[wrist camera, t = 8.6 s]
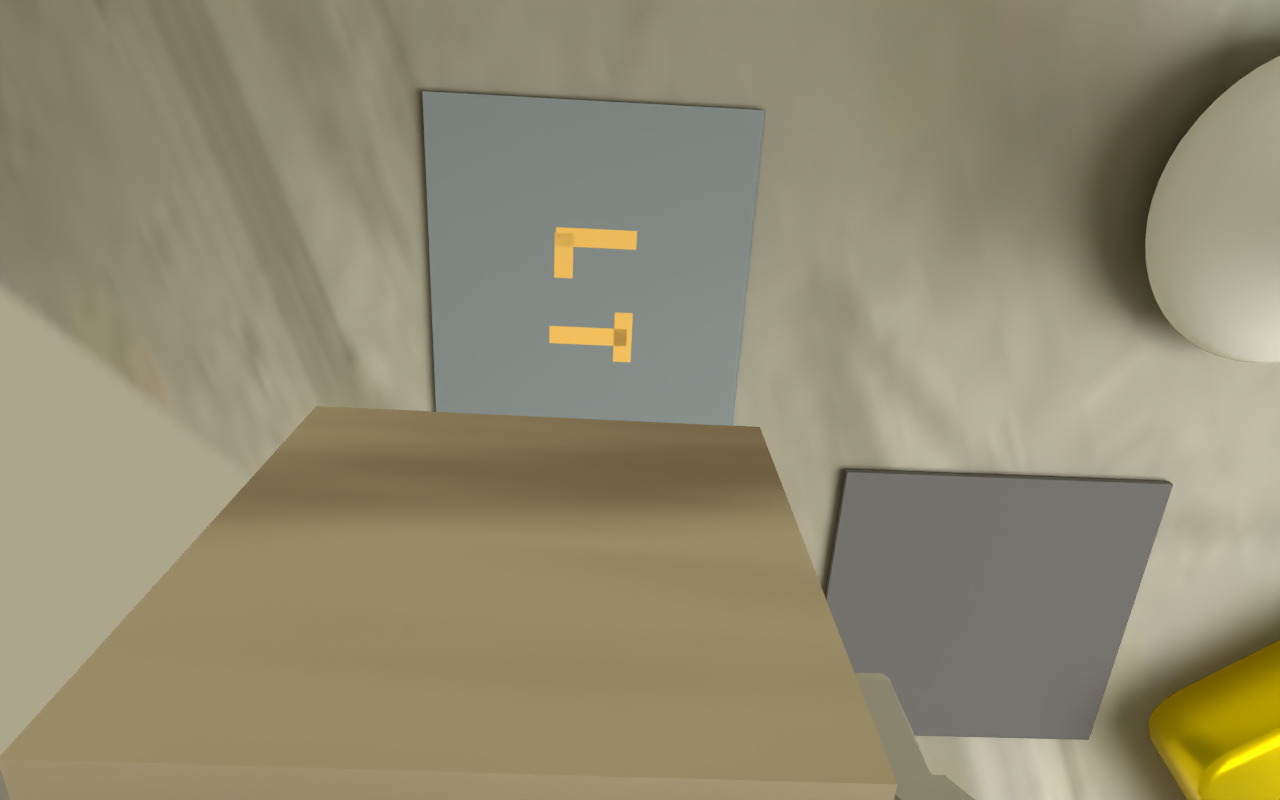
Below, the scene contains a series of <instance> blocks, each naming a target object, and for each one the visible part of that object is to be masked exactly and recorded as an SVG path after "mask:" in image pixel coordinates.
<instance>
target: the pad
mask: <svg viewBox="0 0 1280 800" xmlns="http://www.w3.org/2000/svg"><path fill="white" fill-rule="evenodd" d="M1172 486H1173V484H1172V483H1170V482H1169V481H1150V480H1124V479H1097V478H1071V477H1045V476H1018V475H992V474H965V473H939V472H913V471H886V470H860V469H846V470H845V476H844V482H843V489H842V495H841V501H840V507H839V513H838V519H837V525H836V532H835V538H834V544H833V550H832V556H831V562H830V568H829V575H828V581H827V587H826V593H825V598H826V601H827V603H828V606H829V608H830V611H831V613H832V616H833V619H834V621H835V624H836V626H837V629H838V632H839V634H840V637H841V639H842V642H843V645H844V647H845V650H846V652H847V655H848V658H849V660H850V663H851V665H852V668H853V671H854V673H883V674H884V675H885V676H887V677H888V678H889V680H890V682H891V684H892V686H893V689H894V691H895V693H896V695H897V698H898V700H899V702H900V704H901V706H902V709H903V711H904V713H905V715H906V718H907V720H908V722H909V724H910V726H911V729H912V731H913V733H914V735H917V736H957V737H998V738H1039V739H1079V740H1089V737H1090V734H1091V731H1092V728H1093V725H1094V722H1095V719H1096V716H1097V713H1098V710H1099V707H1100V704H1101V701H1102V698H1103V695H1104V692H1105V689H1106V686H1107V682H1108V679H1109V676H1110V673H1111V670H1112V667H1113V664H1114V661H1115V658H1116V655H1117V652H1118V649H1119V646H1120V643H1121V640H1122V637H1123V634H1124V631H1125V628H1126V625H1127V622H1128V619H1129V616H1130V613H1131V610H1132V607H1133V604H1134V601H1135V598H1136V595H1137V592H1138V589H1139V586H1140V583H1141V580H1142V577H1143V574H1144V571H1145V568H1146V565H1147V562H1148V559H1149V555H1150V552H1151V549H1152V546H1153V543H1154V540H1155V537H1156V534H1157V531H1158V528H1159V525H1160V522H1161V519H1162V516H1163V513H1164V510H1165V507H1166V504H1167V501H1168V498H1169V495H1170V492H1171V489H1172Z"/></svg>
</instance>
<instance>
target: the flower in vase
mask: <svg viewBox="0 0 1280 800" xmlns="http://www.w3.org/2000/svg"><path fill="white" fill-rule="evenodd" d="M1145 249H1146V266H1147V272H1148V277H1149V282H1150V285H1151V288H1152V291H1153V294H1154V297H1155V299H1156V301H1157V303H1158V305H1159V307H1160V309H1161V311H1162V312H1163V314H1164V315H1165V317H1166V318H1167V319H1168V321H1169V322H1170V323H1171V325H1172V326H1173V327H1174V328H1175V329H1176V330H1177V331H1178V332H1179V333H1180V334H1181V335H1182V336H1184V337H1185V338H1186V339H1187V340H1189V341H1190V342H1192V343H1193V344H1195V345H1196V346H1198V347H1199V348H1201V349H1203V350H1205V351H1208V352H1210V353H1212V354H1214V355H1217V356H1220V357H1224V358H1228V359H1231V360H1237V361H1245V362H1280V56H1278V57H1276V58H1274V59H1273V60H1271V61H1269V62H1267V63H1265V64H1263V65H1261V66H1260V67H1258V68H1256V69H1255V70H1253V71H1252V72H1250V73H1249V74H1248V75H1246V76H1245V77H1243V78H1242V79H1240V80H1239V81H1237V82H1236V83H1235V84H1234V85H1232V86H1231V87H1230V88H1229V89H1228V90H1227V91H1225V92H1224V93H1223V94H1222V95H1221V96H1220V97H1218V98H1217V99H1216V100H1215V101H1214V102H1213V103H1212V104H1211V105H1210V106H1209V108H1208V109H1207V110H1206V111H1205V112H1204V113H1203V114H1202V115H1201V116H1200V117H1199V118H1198V119H1197V121H1196V122H1195V123H1194V124H1193V126H1192V127H1191V128H1190V130H1189V131H1188V132H1187V133H1186V135H1185V136H1184V137H1183V138H1182V140H1181V141H1180V143H1179V144H1178V146H1177V147H1176V149H1175V151H1174V152H1173V154H1172V156H1171V157H1170V159H1169V160H1168V163H1167V165H1166V167H1165V169H1164V171H1163V173H1162V175H1161V177H1160V179H1159V182H1158V184H1157V187H1156V190H1155V193H1154V195H1153V198H1152V202H1151V206H1150V210H1149V215H1148V219H1147V229H1146V240H1145Z"/></svg>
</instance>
